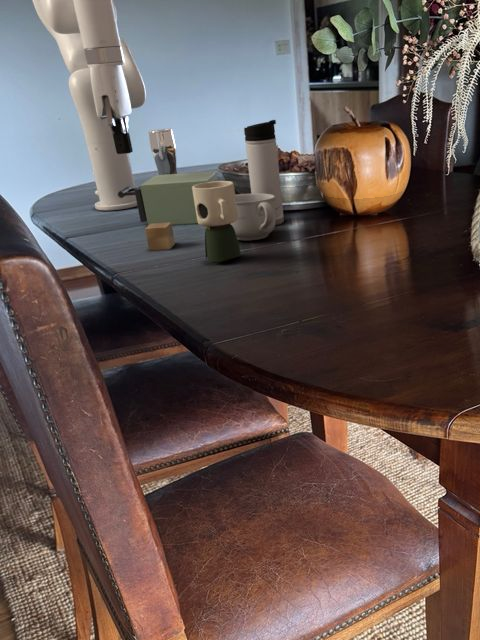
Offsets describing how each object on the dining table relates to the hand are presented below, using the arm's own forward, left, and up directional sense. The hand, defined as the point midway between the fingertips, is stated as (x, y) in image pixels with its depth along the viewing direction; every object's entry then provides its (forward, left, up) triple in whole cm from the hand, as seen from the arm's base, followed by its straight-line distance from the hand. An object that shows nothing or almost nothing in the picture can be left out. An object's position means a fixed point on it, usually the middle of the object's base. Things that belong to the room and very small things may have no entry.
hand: (124, 152), depth 143 cm
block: (+26, -12, -15) cm, 32 cm away
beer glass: (-32, +32, -15) cm, 48 cm away
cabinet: (+9, +7, -15) cm, 19 cm away
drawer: (+5, +4, -14) cm, 15 cm away
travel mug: (+32, +12, -15) cm, 37 cm away
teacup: (+39, +1, -15) cm, 41 cm away
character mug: (+45, -12, -15) cm, 49 cm away
